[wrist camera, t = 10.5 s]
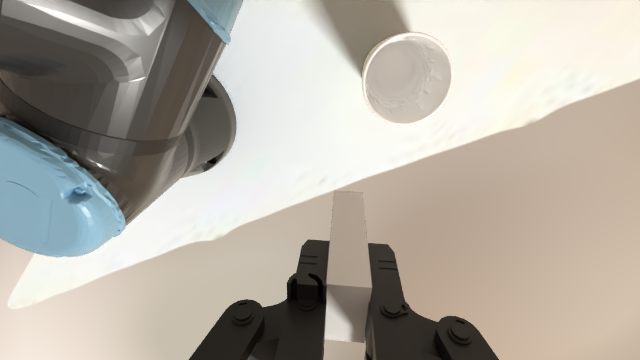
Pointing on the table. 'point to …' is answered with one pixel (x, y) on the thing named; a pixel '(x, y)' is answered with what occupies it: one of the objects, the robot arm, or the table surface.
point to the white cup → (407, 78)
